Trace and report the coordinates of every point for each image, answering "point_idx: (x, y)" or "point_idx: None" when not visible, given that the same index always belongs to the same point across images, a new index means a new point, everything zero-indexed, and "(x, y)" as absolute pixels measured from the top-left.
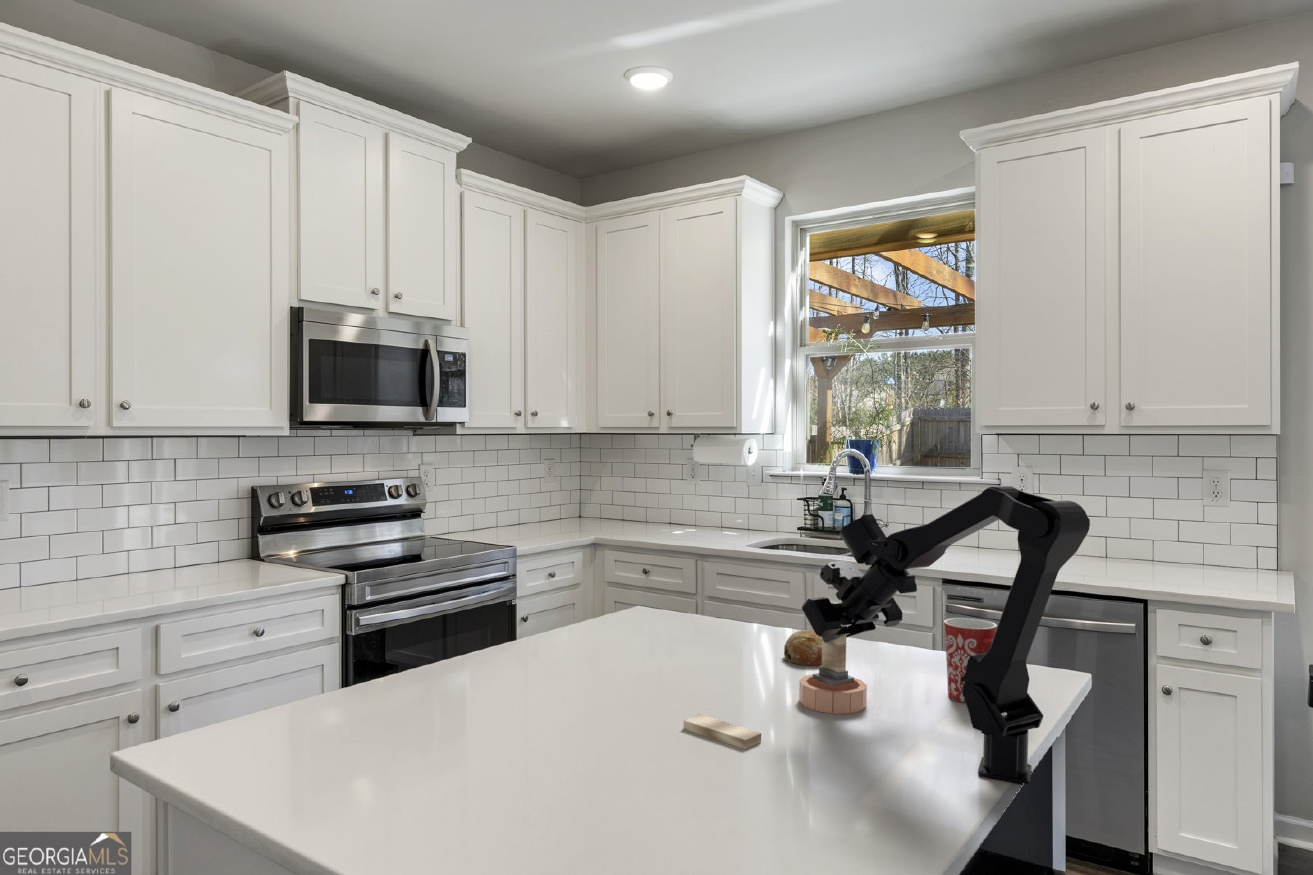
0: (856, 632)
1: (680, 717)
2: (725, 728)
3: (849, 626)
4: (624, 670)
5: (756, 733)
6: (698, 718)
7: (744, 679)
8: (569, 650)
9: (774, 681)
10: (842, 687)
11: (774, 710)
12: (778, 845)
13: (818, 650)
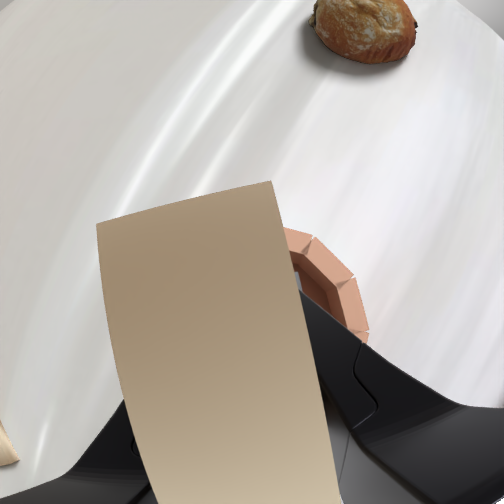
0: (342, 495)
1: None
2: None
3: (335, 455)
4: (20, 63)
5: (4, 460)
6: None
7: (147, 103)
8: (34, 5)
9: (204, 125)
10: (321, 283)
11: (87, 332)
12: None
13: (376, 39)
